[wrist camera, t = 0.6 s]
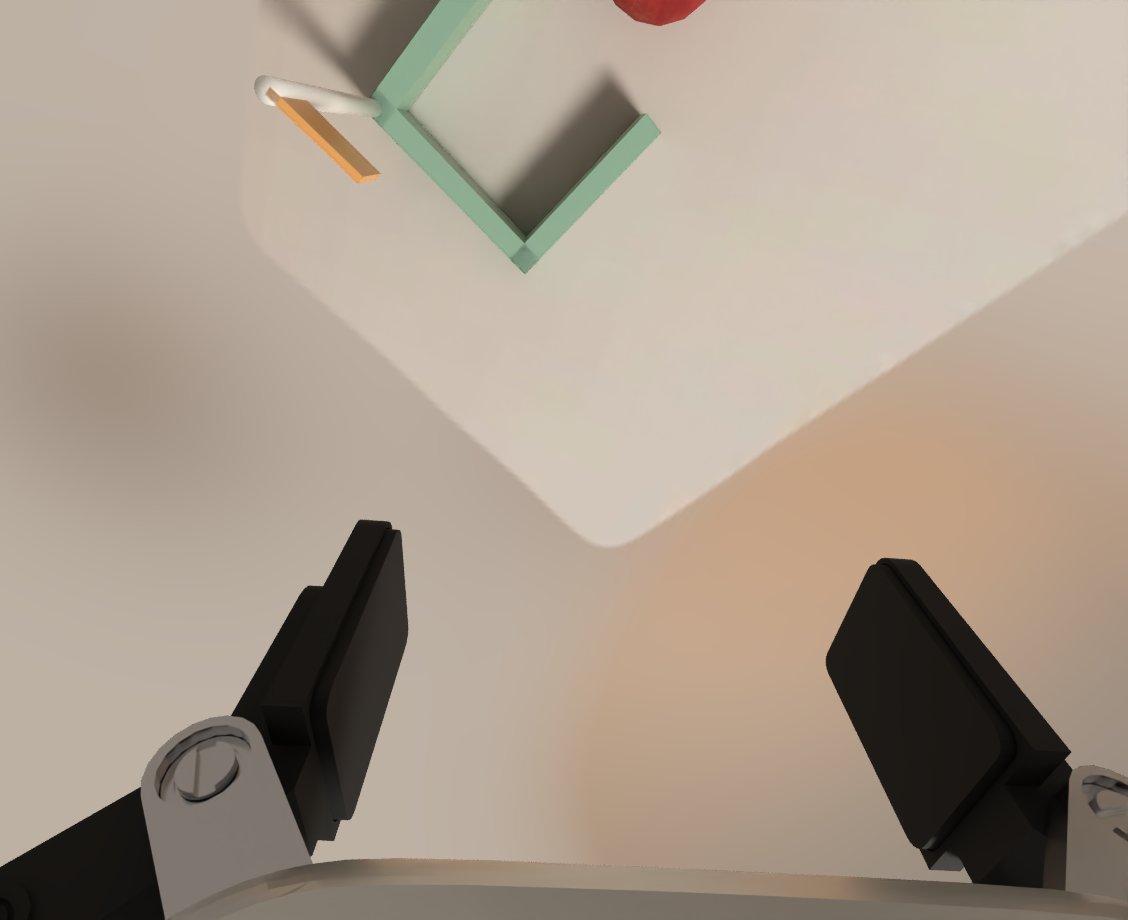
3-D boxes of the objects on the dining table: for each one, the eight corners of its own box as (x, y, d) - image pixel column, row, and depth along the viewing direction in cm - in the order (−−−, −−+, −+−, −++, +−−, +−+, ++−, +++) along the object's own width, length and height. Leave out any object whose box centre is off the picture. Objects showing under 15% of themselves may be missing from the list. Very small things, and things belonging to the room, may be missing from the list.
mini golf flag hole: (503, -64, 27) (457, -239, 14) (654, 132, 31) (719, 129, 19) (376, 110, 30) (249, 90, 18) (526, 265, 35) (510, 338, 22)
